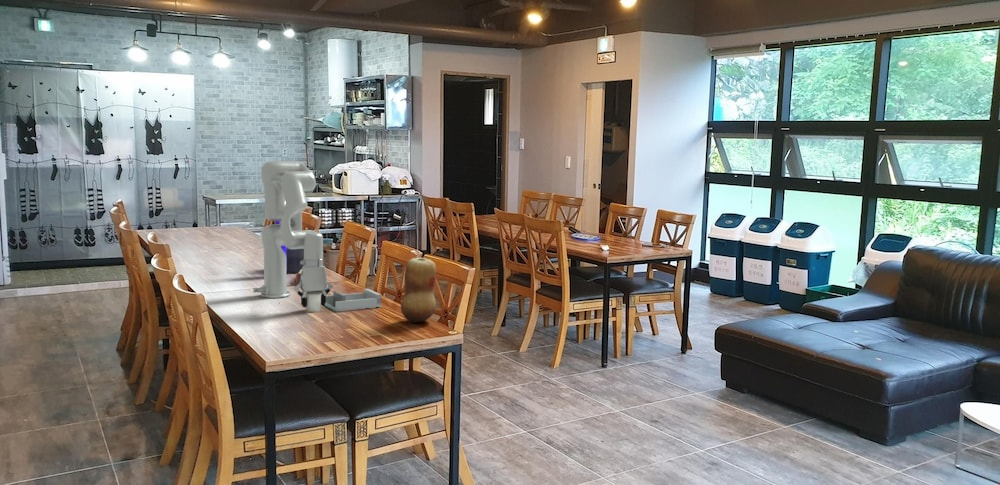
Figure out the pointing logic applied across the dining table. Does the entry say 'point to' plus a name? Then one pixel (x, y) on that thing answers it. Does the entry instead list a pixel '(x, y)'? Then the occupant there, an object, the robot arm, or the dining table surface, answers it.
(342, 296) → the pusher
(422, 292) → the butternut squash
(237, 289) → the dining table surface
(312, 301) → the jar
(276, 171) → the robot arm
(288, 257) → the planter
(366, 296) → the grey tray
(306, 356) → the dining table surface
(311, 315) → the dining table surface
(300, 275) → the snack package
